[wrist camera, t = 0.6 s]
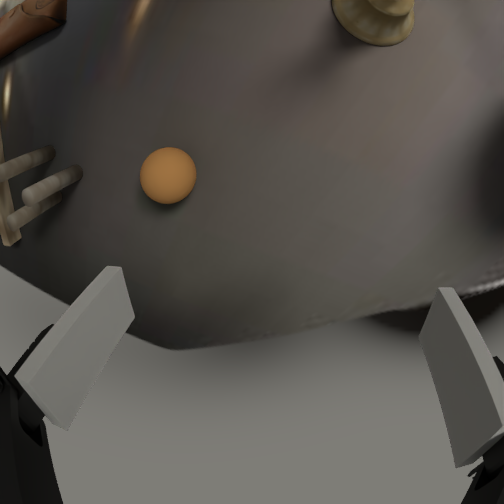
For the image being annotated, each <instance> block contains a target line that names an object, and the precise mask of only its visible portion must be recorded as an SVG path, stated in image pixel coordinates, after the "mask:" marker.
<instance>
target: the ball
mask: <svg viewBox="0 0 504 504" xmlns="http://www.w3.org/2000/svg"><path fill="white" fill-rule="evenodd" d="M195 181H196V168H195V165H194V162H193V160H192V159H191V157H190V156H189V155H188V154H187V153H185V152H184V151H182V150H180V149H177V148H173V147H166V148H161V149H158V150H156V151H154V152H153V153H151V154H150V155H149V156H148V157H147V158H146V160H145V161H144V163H143V165H142V167H141V171H140V182H141V186H142V188H143V190H144V192H145V193H146V194H147V195H148V196H149V197H150V198H151V199H152V200H154V201H156V202H159V203H163V204H171V203H176V202H178V201H181V200H182V199H184V198H185V197H186V196H187V195H188V194H189V193H190V192H191V191H192V189H193V187H194V185H195Z"/></svg>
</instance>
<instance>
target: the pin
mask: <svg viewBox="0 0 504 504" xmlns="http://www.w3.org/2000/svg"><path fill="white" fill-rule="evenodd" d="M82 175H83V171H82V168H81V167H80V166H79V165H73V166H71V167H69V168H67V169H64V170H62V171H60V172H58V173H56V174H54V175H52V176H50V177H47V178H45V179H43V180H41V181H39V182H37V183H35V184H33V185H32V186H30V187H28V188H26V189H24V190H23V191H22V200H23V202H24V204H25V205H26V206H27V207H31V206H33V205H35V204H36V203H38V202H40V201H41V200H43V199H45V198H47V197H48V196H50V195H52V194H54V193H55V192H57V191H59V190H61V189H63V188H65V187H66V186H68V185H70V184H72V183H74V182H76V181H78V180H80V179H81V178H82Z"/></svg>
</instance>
